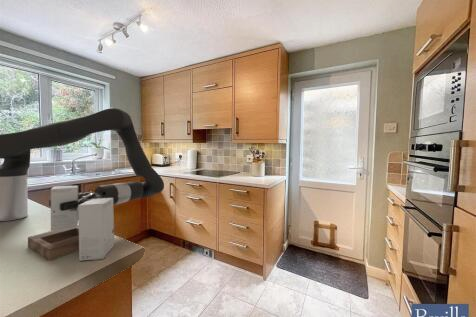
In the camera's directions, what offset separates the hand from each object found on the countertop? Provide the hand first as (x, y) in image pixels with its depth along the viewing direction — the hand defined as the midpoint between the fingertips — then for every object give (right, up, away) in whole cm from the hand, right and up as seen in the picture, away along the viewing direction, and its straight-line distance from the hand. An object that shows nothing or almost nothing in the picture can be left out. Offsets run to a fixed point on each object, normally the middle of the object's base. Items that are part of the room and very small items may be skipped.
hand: (54, 205), depth 59 cm
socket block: (+1, -13, +3) cm, 13 cm away
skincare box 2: (+13, -13, -1) cm, 19 cm away
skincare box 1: (+1, -7, +2) cm, 8 cm away
